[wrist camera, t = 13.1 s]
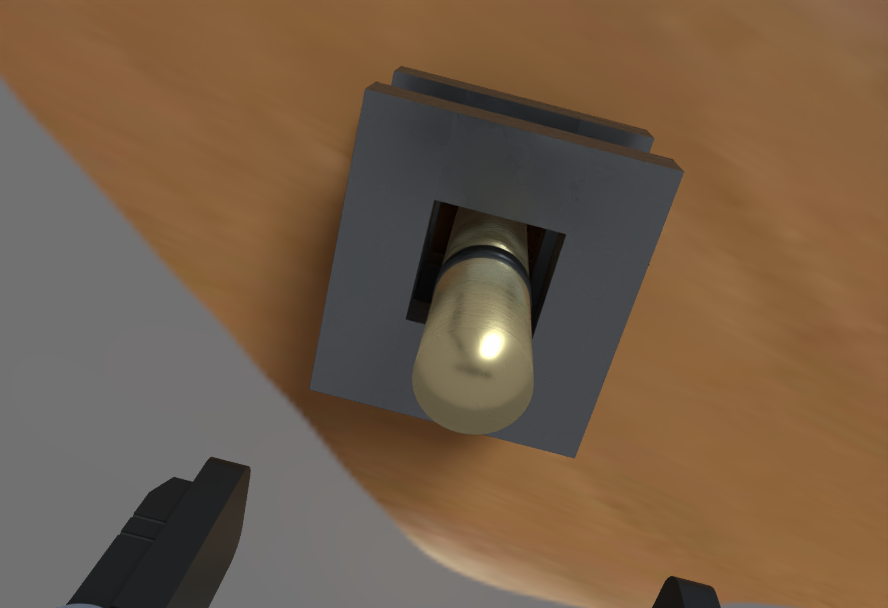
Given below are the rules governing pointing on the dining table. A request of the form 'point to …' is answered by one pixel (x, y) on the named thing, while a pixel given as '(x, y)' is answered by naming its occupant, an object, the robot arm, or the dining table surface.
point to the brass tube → (478, 329)
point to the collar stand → (501, 194)
